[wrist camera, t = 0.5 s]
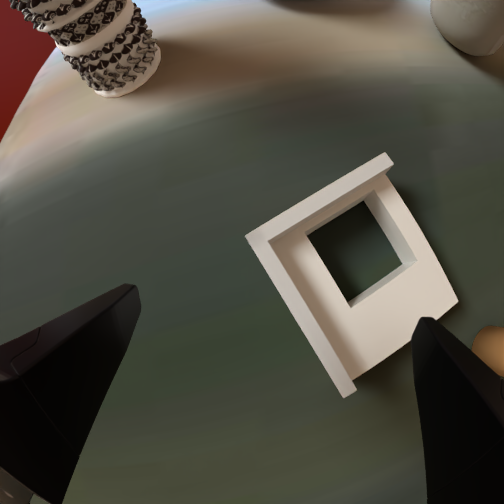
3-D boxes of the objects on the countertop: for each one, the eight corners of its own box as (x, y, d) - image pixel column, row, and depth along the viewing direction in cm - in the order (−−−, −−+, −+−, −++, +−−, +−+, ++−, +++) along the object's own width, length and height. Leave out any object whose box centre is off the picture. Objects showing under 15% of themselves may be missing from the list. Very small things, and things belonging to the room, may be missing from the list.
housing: (440, 300, 22) (472, 302, 17) (331, 377, 23) (343, 398, 18) (367, 176, 24) (385, 152, 19) (252, 246, 24) (244, 235, 19)
